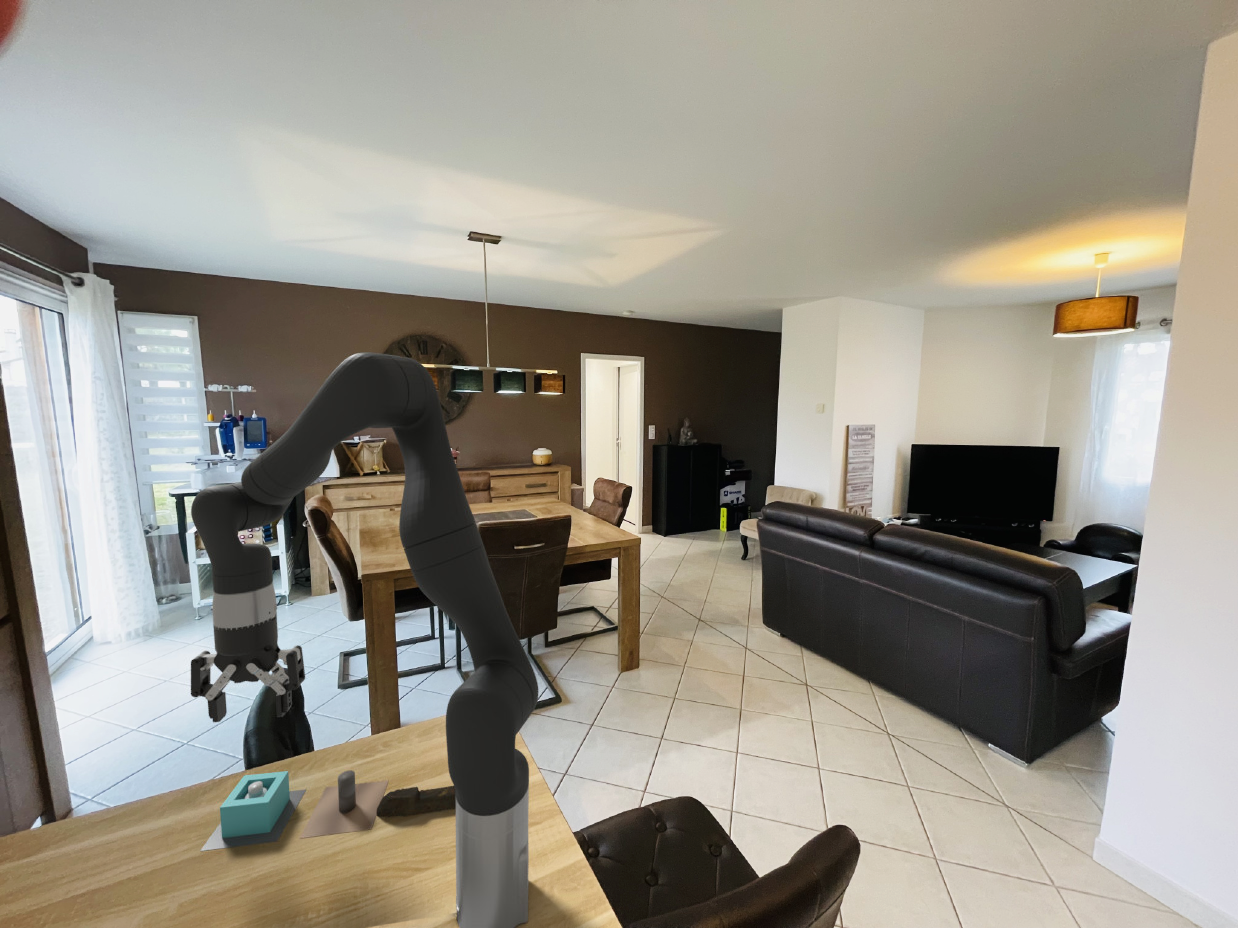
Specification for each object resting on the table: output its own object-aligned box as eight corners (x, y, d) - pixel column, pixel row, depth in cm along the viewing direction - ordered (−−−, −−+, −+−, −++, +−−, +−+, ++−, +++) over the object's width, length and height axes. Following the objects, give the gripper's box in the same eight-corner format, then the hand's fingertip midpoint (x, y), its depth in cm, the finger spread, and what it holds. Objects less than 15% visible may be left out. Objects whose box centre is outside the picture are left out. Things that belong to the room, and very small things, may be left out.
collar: (289, 798, 80) (288, 770, 79) (269, 832, 74) (268, 801, 73) (245, 803, 79) (244, 775, 78) (221, 837, 72) (219, 807, 72)
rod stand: (389, 785, 85) (388, 750, 84) (371, 834, 75) (370, 796, 74) (326, 792, 83) (324, 757, 82) (299, 844, 73) (297, 804, 72)
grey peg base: (306, 794, 82) (305, 759, 81) (277, 846, 72) (275, 807, 72) (239, 802, 80) (237, 765, 79) (200, 856, 70) (197, 816, 70)
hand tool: (499, 792, 84) (499, 767, 84) (499, 810, 80) (499, 785, 80) (382, 808, 80) (381, 782, 80) (375, 828, 76) (374, 801, 76)
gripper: (172, 629, 67) (181, 737, 69) (286, 623, 70) (292, 727, 72) (207, 607, 75) (214, 705, 76) (309, 602, 77) (313, 697, 79)
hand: (251, 716), depth 74 cm, fingers open, 8 cm apart
